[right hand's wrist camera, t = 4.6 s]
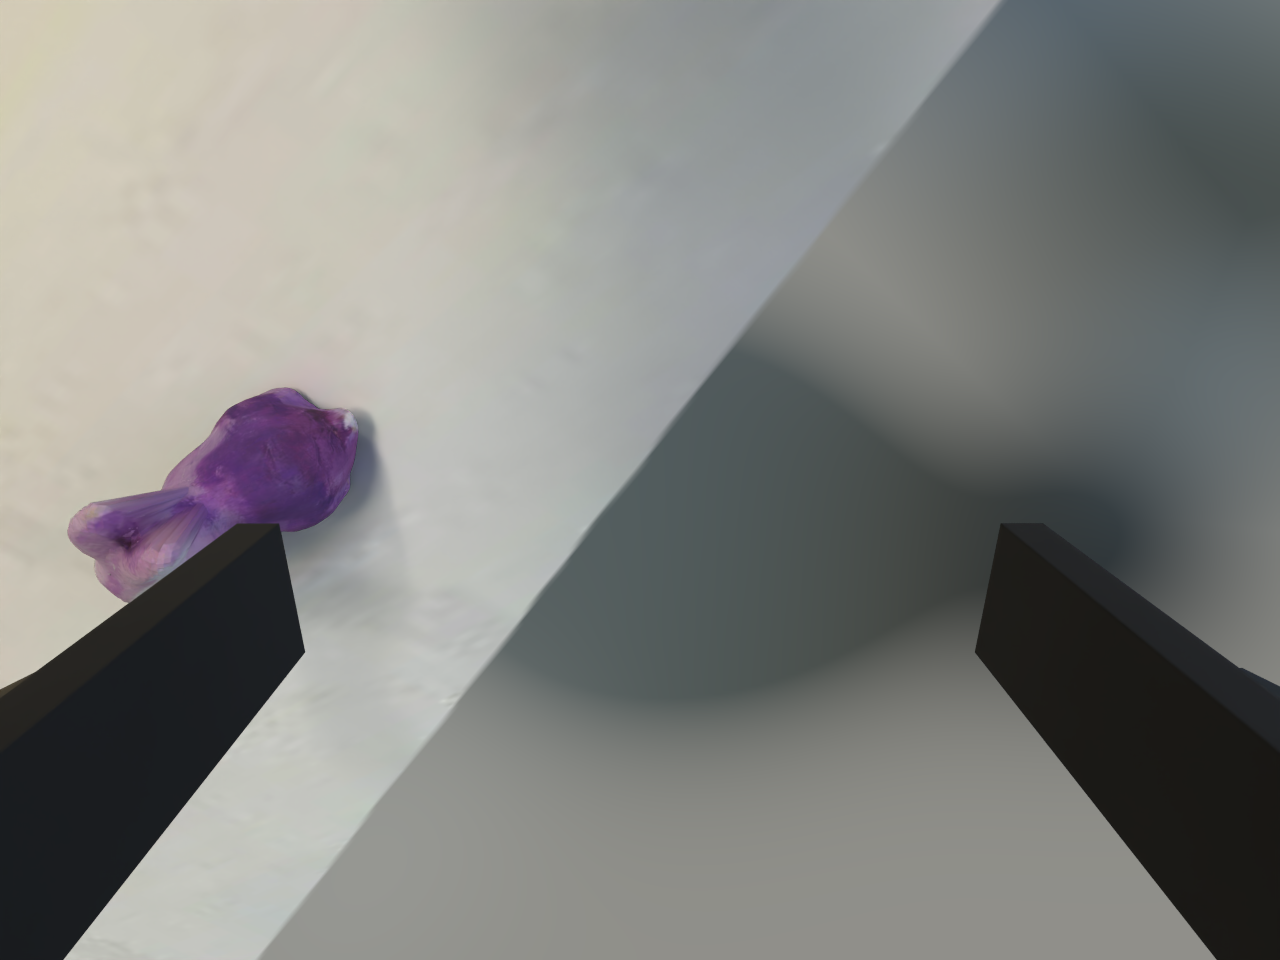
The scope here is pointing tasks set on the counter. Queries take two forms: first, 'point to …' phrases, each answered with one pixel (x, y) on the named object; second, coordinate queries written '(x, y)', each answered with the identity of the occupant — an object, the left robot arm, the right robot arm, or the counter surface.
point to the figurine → (224, 490)
